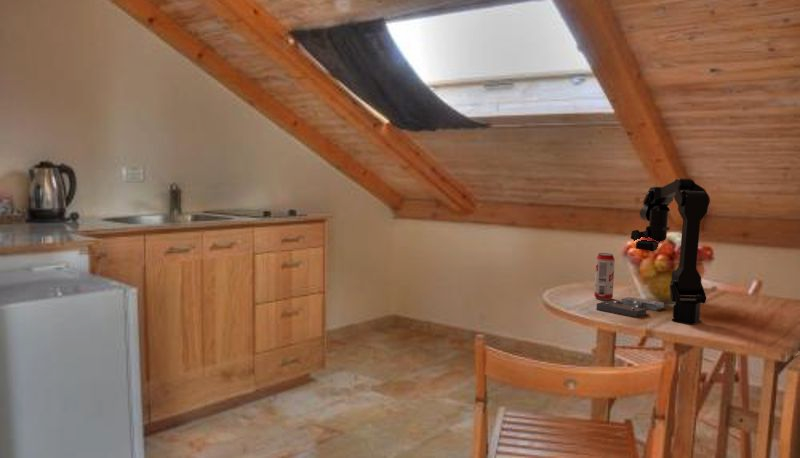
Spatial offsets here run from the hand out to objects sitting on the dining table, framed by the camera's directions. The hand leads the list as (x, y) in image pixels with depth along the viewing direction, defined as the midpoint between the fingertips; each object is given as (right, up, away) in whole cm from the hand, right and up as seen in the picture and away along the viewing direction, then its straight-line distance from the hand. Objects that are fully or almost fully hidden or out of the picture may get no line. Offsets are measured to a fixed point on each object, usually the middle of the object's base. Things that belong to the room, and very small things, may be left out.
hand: (655, 268), depth 219 cm
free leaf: (-7, -13, -5) cm, 15 cm away
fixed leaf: (-16, -13, -13) cm, 24 cm away
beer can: (-16, -11, +7) cm, 21 cm away
